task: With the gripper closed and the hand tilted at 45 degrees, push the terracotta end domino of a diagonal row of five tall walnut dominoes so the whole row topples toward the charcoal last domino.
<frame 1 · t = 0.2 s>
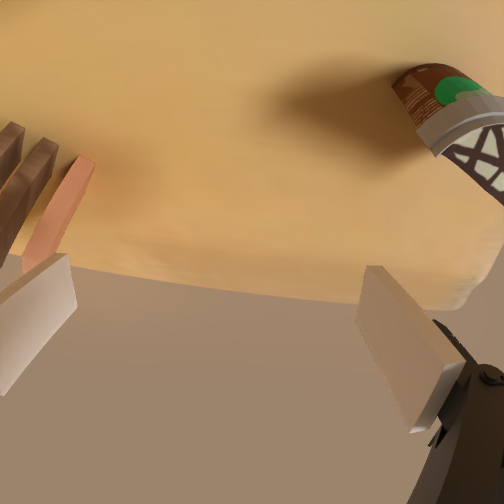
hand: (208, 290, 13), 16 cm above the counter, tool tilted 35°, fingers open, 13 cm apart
domino 1: (81, 175, 28), on the counter
food container: (450, 89, 18), on the counter
domino 3: (15, 142, 23), on the counter
domino 2: (47, 157, 26), on the counter
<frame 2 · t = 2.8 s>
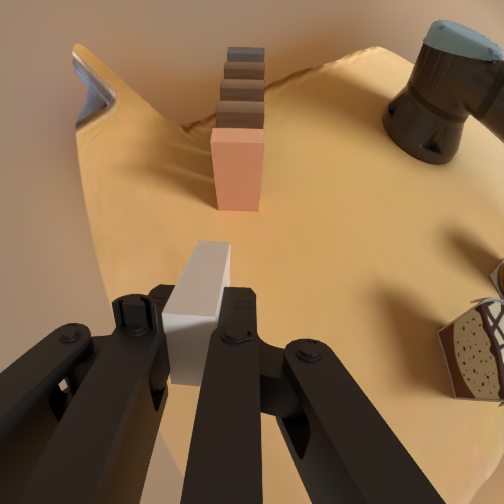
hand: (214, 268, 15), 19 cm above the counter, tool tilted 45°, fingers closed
domino 4: (243, 131, 45), on the counter
domino 1: (238, 204, 39), on the counter
food container: (461, 356, 31), on the counter
domino 3: (242, 152, 43), on the counter
domino 2: (240, 176, 41), on the counter
domino 5: (244, 112, 47), on the counter
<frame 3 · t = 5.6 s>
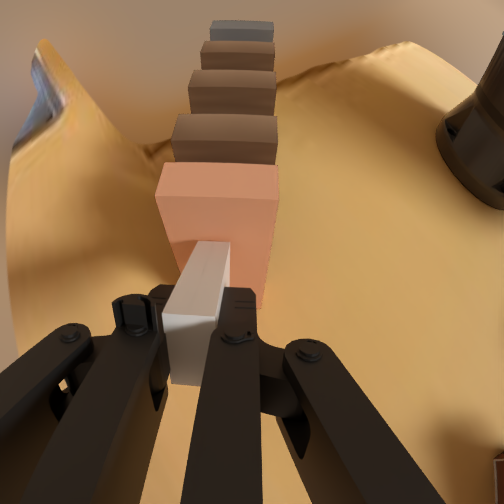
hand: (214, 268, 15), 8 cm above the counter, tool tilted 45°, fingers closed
domino 4: (237, 156, 29), on the counter
domino 1: (227, 294, 23), on the counter, tilted 6°, touching gripper
domino 3: (234, 194, 27), on the counter
domino 2: (231, 240, 25), on the counter
domino 5: (240, 126, 31), on the counter
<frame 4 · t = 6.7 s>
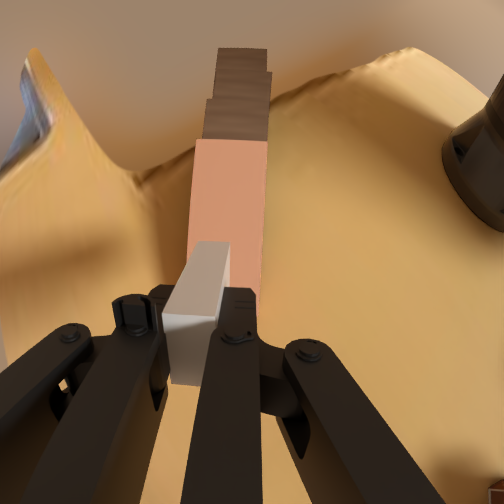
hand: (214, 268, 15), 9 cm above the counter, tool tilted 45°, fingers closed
domino 4: (235, 156, 28), point 1 cm above the counter, tilted 64°, touching domino 3, domino 5
domino 1: (222, 311, 22), point 1 cm above the counter, tilted 65°, touching domino 2
domino 3: (231, 197, 26), point 1 cm above the counter, tilted 64°, touching domino 2, domino 4
domino 2: (227, 249, 24), point 1 cm above the counter, tilted 65°, touching domino 1, domino 3
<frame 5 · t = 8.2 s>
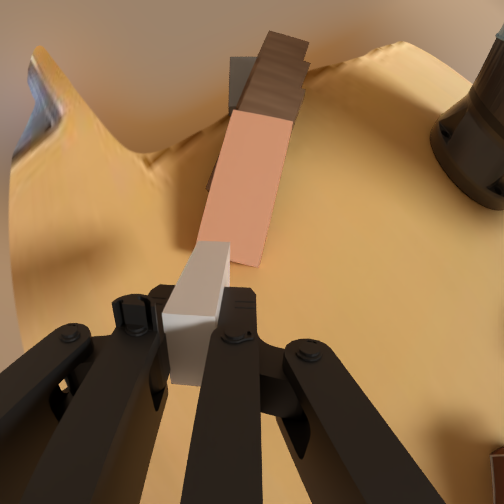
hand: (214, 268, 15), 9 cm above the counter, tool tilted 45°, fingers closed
domino 4: (258, 117, 31), point 1 cm above the counter, tilted 67°, touching domino 3, domino 5
domino 1: (227, 259, 24), point 1 cm above the counter, tilted 67°
domino 3: (248, 152, 29), point 1 cm above the counter, tilted 67°, touching domino 2, domino 4
domino 2: (234, 200, 26), point 1 cm above the counter, tilted 66°, touching domino 3
domino 5: (251, 112, 33), on the counter, tilted 90°, touching domino 4
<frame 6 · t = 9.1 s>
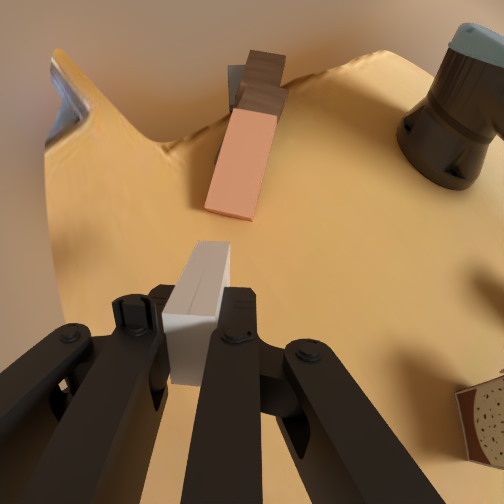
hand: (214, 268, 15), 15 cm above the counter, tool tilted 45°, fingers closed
domino 1: (228, 214, 33), point 1 cm above the counter, tilted 67°, touching domino 2
food container: (478, 416, 24), on the counter
domino 3: (248, 129, 38), point 1 cm above the counter, tilted 61°, touching domino 4
domino 2: (235, 170, 35), point 1 cm above the counter, tilted 66°, touching domino 1
domino 5: (246, 109, 42), on the counter, tilted 90°
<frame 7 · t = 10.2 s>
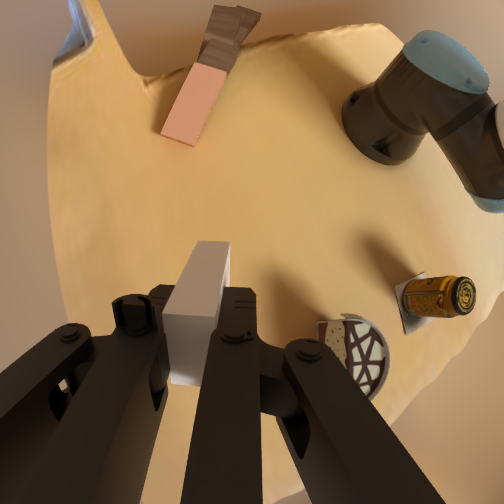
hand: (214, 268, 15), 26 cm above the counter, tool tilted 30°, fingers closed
domino 4: (221, 45, 44), point 2 cm above the counter, tilted 90°, touching domino 3
domino 1: (177, 140, 41), point 1 cm above the counter, tilted 71°, touching domino 2
food container: (336, 350, 42), on the counter
domino 3: (211, 68, 44), point 1 cm above the counter, tilted 60°, touching domino 2, domino 4
condiment: (414, 303, 45), on the counter
domino 2: (191, 107, 42), point 1 cm above the counter, tilted 71°, touching domino 1, domino 3
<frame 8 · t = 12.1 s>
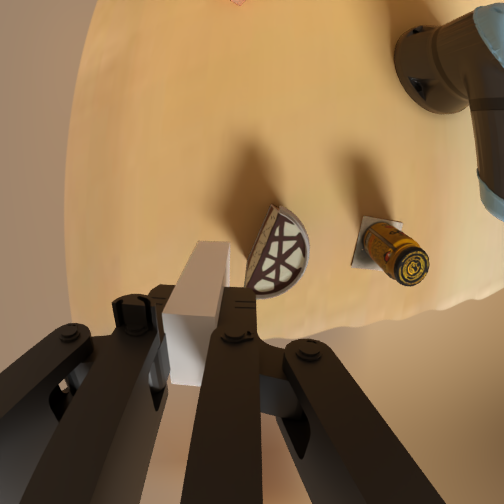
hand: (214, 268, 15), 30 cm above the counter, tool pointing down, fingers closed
food container: (277, 239, 46), on the counter
condiment: (376, 244, 47), on the counter
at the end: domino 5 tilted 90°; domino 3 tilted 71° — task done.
